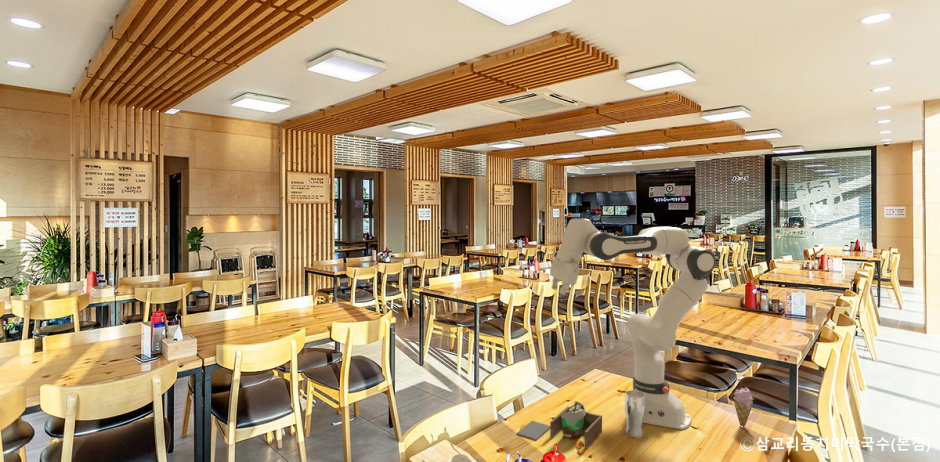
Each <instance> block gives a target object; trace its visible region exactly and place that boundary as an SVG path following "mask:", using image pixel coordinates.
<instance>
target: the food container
mask: <svg viewBox="0 0 940 462" xmlns="http://www.w3.org/2000/svg"><path fill="white" fill-rule="evenodd" d="M568 407H569V408H568V409H567V410H566V411H565V412H562V411H561V412H562V414H561V418H562V430H561V431H562V438H563V439H567V440H577V439H580V438H582V436H583V430H584V429H583V420H584V416H585V415H586V412H587V411H586V407H585V405H584V404H583V403H581V402H579V401H577V400H574V404H573V405H571V406H568Z"/></svg>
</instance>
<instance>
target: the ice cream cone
mask: <svg viewBox="0 0 940 462" xmlns="http://www.w3.org/2000/svg"><path fill="white" fill-rule="evenodd" d="M733 395H734V397H732V398H733V402H734V407H735V411H736V416H737V419H738V423H739V426H740V425H741V426H743V427H744V426H745V427H746V425H747V421H748V420H749V417H750V415H751V414H750V413H751V411H752V407H753V403H754V402H753V400H755V398H753V396H752V391H750V389H749V388H748V387H746V386H745V387H744V388H743V387H740V389H735V392H733ZM741 426H740V427H741ZM743 427H742V428H743ZM745 427H744V428H745Z"/></svg>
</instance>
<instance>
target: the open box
mask: <svg viewBox="0 0 940 462" xmlns="http://www.w3.org/2000/svg"><path fill="white" fill-rule="evenodd" d="M569 407H570V406H566V407H565V408H564V409H563V410H562V411H561V412H560V413H558V415H556V416H554V418H553V419H551V421H550V423H549V424H550V425H549V426H550V429H549V430H550V433H549V437H550V439H552V440H553V438H555V437H556V436H558V434H559V433H560V432H562V431H563V430H562V418H561V414H562V412H565V411H566V410H567V409H568V408H569ZM583 428H585V429H586V430H585V431H584V450H587V449H588V448H590V446H591V445H592V444H593V443H594V441H596V439H597V438H598V437H599V436H600V435H601V433H603V415H601V414H597V413H593V412H589V411H586V415H585V416H584V420H583ZM588 450H589V449H588Z"/></svg>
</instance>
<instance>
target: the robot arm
mask: <svg viewBox="0 0 940 462" xmlns="http://www.w3.org/2000/svg"><path fill="white" fill-rule="evenodd" d="M562 237H563V238H562V243H561V244H560V246H559V248H558V249H557V250H556V251H554V253H553V259H552V262H551V267H550V270H549V275H550V276H551V277H552V284H551V289H552V290H555V291H556V290H558V287H559V286H558V283H559V281H562V282H563V284H562V287H561V288H560V290H559V294H561V295H566V293H567V291H568V289H569V288H570V286H575V285H576V284H577V281H578V277H579V273H580V266H579V265H580V262H581V259H582V256H583V253H586V254H587V255H588V256H591V257H594V258H597V259H599V260H601V261H610V260H612V259H614V258H616V257H618V256H620V255H624V254H635V253H641V254H644V255H652V256H657V255H658V256H659V255H662V256H663V255H665V259H666V263H667V264H668V266H670V268H671V269H672V270H673V269H674V270H676V271H679V272H680V273H679V277H678V279H677V280H676V281H675V282H674V283H673V284H672V285H671V286H670V287H669V288H668V290H667V291H665V293H664V294H663V295H662V296H661V297H660V298H659V300H658V301H657V309H656V310H655V312H654V314H653V315H652V316H650V315H648V314H645V313H634V314H632V315H631V316H629V317H628V319H627V322H626V329H627V332H628V333H629V335H630V340H631V346H632V351H633V357H634V376H633V380H632V390H635V391H640V392H642V393H643V394H644V395H645V396H644V397H645V412H644V417H643V422H642V424H648V425H649V424H650V425H653V426H659V427H665V428H670V429H677V430H685V429H688V427H690V426H691V424H692V416H691V415H690V414H689V413H686V411H685V410H686V409H685V406H684V403H683V401H681V400H680V399H679V398H678V397H677V396H675V394H673V392H671V391H670V385H671V383H670V381H669V382H667V381H666V380H665V360H664V357H663V356H662V353H661V352H667V351H669V350H671V349H672V348H673V347H674V346H675V344H676V342H677V331H678V328H679V327H680V324H681V322H682V320H684V318H685V317H686V316H687V315H688V313H690V311H691V310H692V309H693V308H694V306H696V304H697V303H698V302H699V301H700V300H701V299H702V297H703V296H704V294H705V293H706V291H707V289H708V285H709V284H708V280H707V278H709V277H710V276H711V273H712V272H713V271H714V270H715V267H716V263H717V262H716V261H717V260H716V257H715V254H714V253H713V252H712V251H711V250H709V249H707V248H704V247H699V246H697V245H696V246H695V245H691V244H690V243H689V242H690V240H689V235H688V232H687V231H686V230H685V229H682V228H680V227H674V226H673V227H672V226H652V227H648V228H643V229H641V230H640V231H639V233H638V235H631V236H617V235H615V234H613V233H610V232H601V231H600V230H598V228H596V226H595V225H594V224H593V223H592V220H590V219H588V218H582V217H573V218H571V219H570V220H569V221H568V224H567V225H566V228H565V230H564V233H563V236H562ZM689 425H690V426H689Z"/></svg>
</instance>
